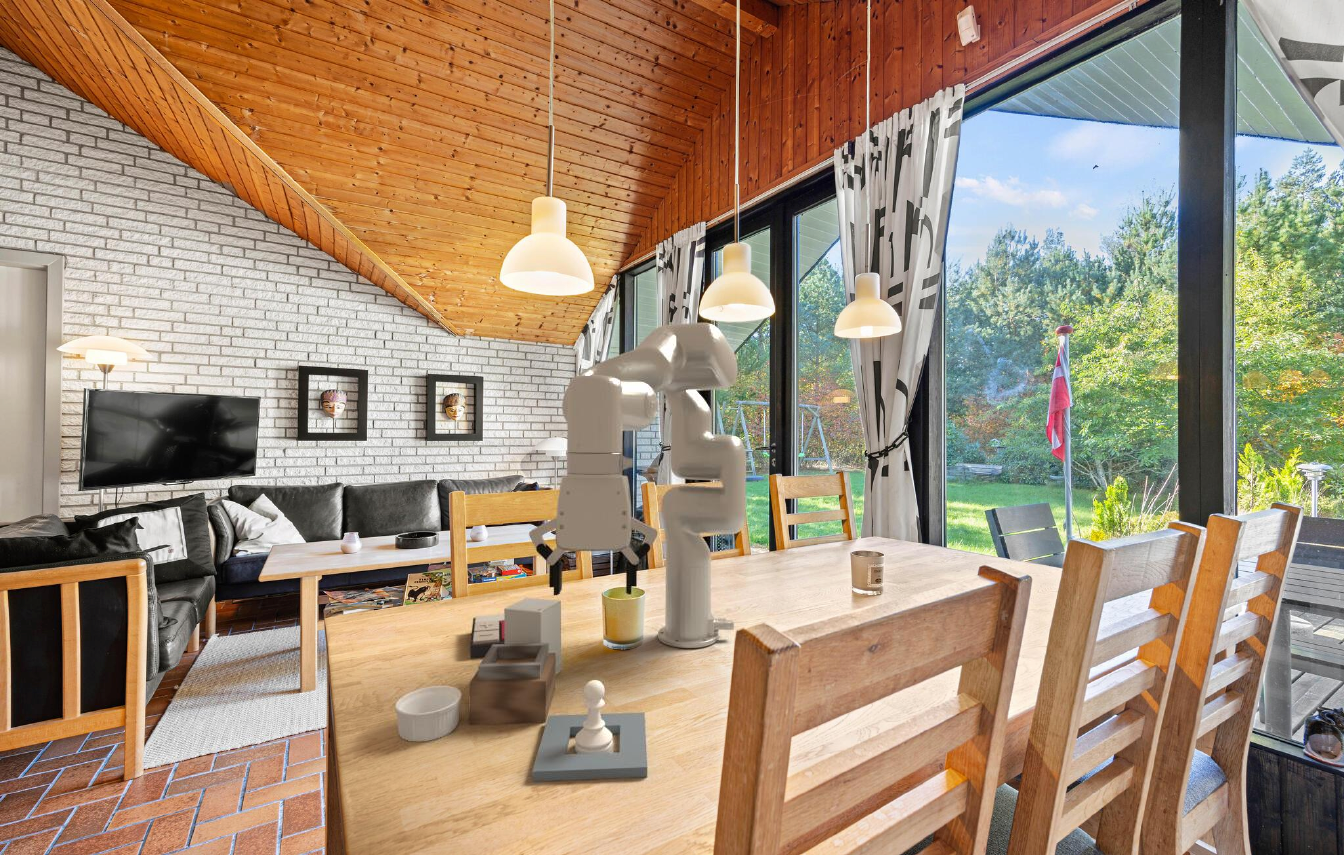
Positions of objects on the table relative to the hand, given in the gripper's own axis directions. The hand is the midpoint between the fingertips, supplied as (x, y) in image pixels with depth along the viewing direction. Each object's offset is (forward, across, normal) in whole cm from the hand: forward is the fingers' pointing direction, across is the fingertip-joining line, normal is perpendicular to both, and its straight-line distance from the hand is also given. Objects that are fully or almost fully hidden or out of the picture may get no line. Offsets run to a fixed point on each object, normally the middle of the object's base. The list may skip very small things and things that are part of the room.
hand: (593, 592), depth 78 cm
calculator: (+21, +22, -41) cm, 51 cm away
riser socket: (+21, +13, -13) cm, 28 cm away
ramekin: (+21, +24, -7) cm, 33 cm away
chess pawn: (+21, 0, 0) cm, 21 cm away
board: (+21, 0, 0) cm, 21 cm away
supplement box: (+21, +12, -24) cm, 34 cm away
